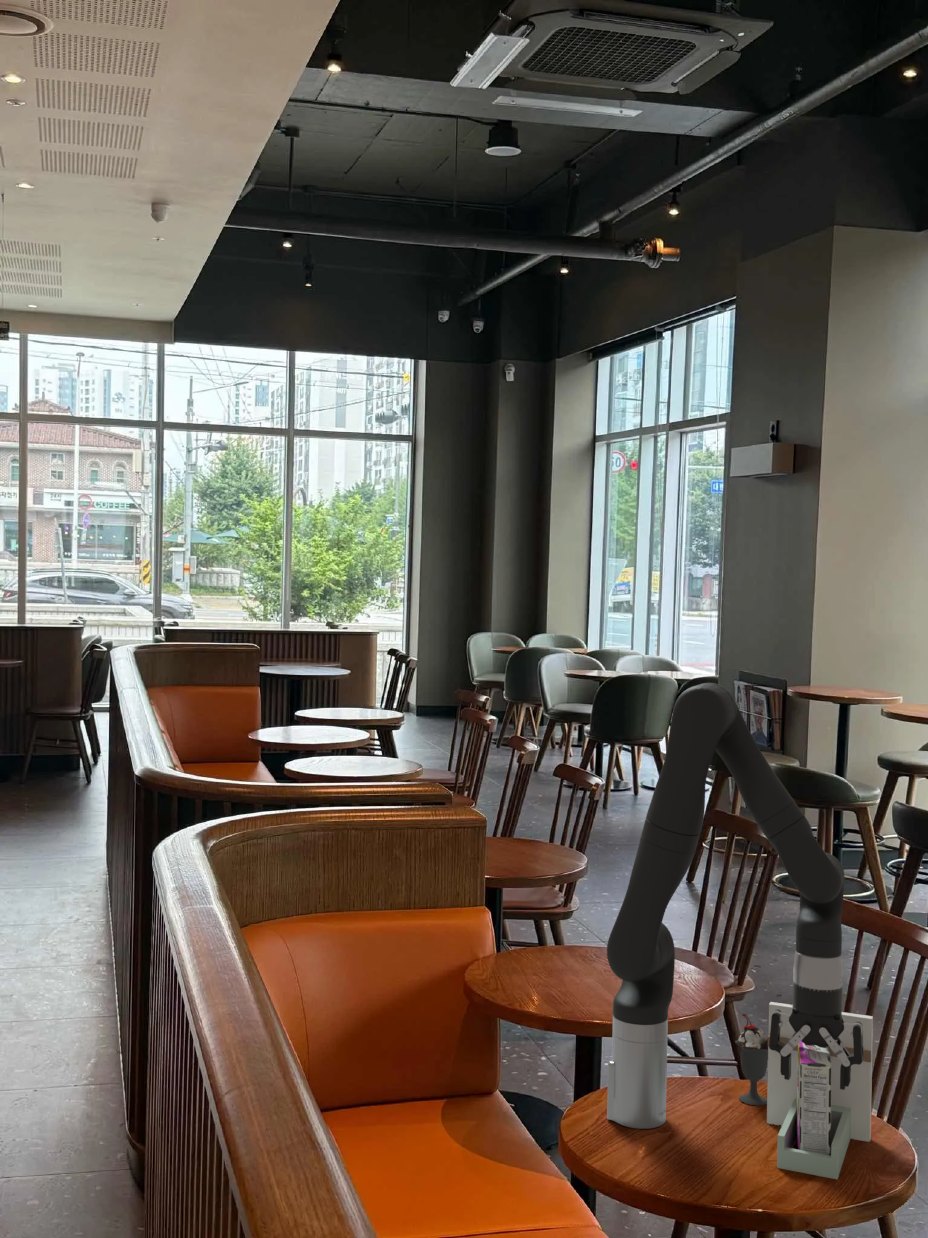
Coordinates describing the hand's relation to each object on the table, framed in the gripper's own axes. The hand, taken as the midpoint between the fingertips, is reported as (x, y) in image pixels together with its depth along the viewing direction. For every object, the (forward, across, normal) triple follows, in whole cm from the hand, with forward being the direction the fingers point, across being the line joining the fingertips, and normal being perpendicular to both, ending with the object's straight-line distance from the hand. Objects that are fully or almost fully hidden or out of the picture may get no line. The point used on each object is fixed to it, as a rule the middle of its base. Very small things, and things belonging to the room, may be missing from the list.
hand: (815, 1083), depth 193 cm
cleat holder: (+11, -1, +1) cm, 11 cm away
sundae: (+12, -13, +18) cm, 25 cm away
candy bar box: (+12, 0, 0) cm, 12 cm away
